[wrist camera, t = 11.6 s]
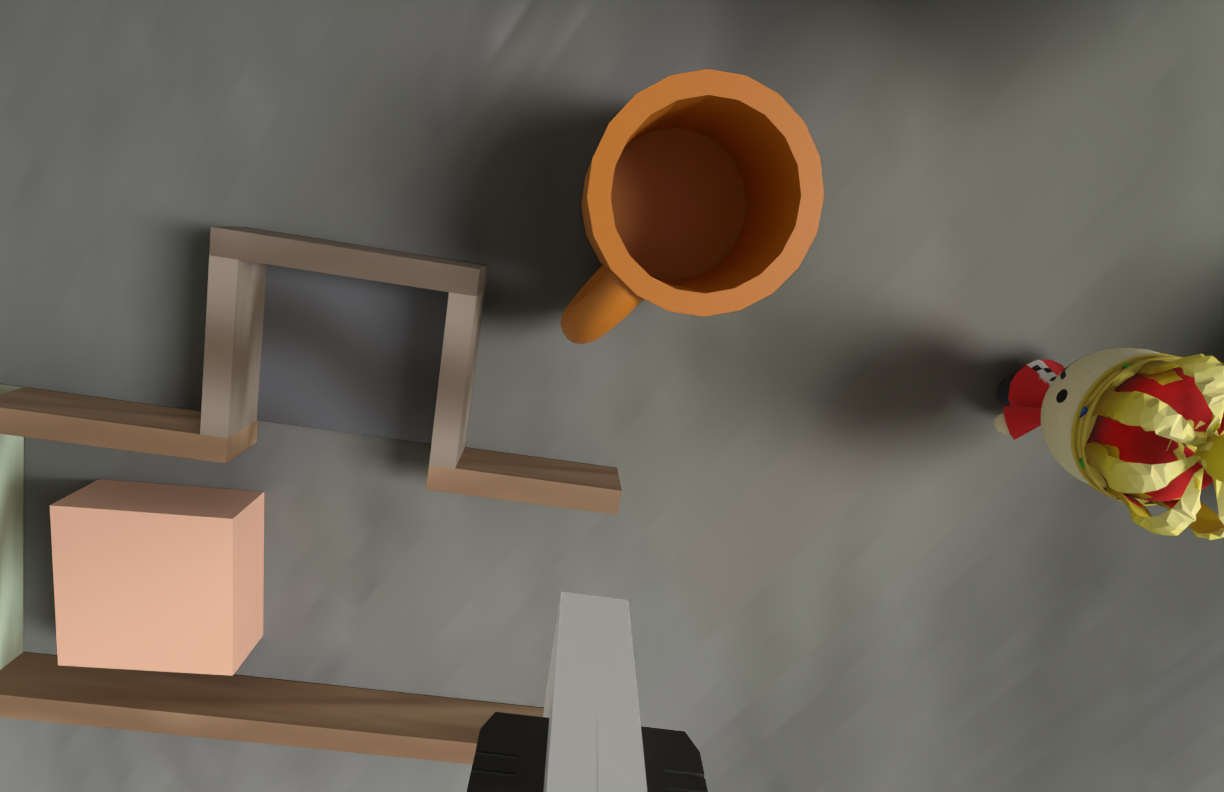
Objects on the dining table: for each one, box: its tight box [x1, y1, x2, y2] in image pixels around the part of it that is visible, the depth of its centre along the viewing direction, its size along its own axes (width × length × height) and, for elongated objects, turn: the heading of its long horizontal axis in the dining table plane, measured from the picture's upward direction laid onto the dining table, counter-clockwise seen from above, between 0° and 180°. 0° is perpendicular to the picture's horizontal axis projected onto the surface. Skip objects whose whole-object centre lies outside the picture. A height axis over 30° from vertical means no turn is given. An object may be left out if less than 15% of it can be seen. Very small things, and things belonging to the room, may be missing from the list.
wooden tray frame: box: [0, 227, 622, 764], centre depth 37 cm, size 25×30×4 cm
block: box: [50, 479, 264, 676], centre depth 38 cm, size 8×8×4 cm
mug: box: [561, 69, 824, 344], centre depth 33 cm, size 9×12×9 cm
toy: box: [994, 347, 1224, 540], centre depth 32 cm, size 7×7×15 cm
